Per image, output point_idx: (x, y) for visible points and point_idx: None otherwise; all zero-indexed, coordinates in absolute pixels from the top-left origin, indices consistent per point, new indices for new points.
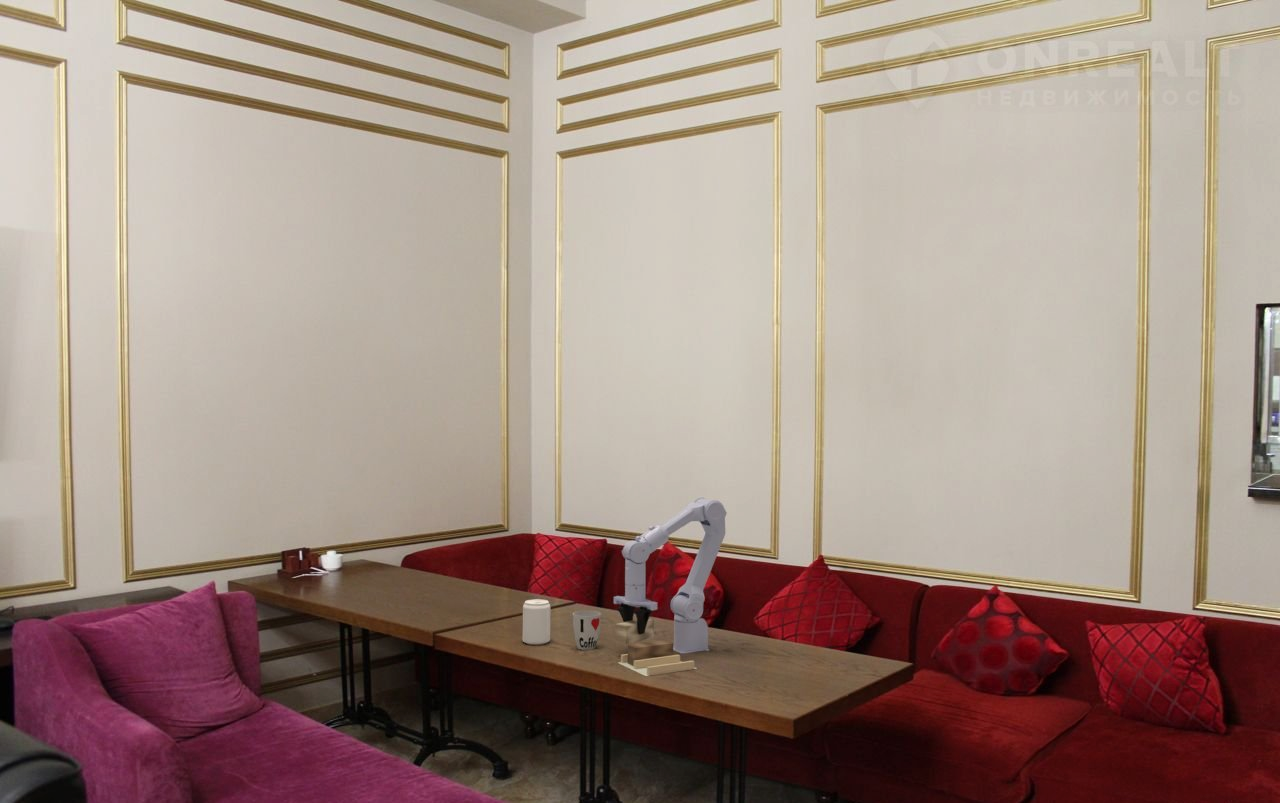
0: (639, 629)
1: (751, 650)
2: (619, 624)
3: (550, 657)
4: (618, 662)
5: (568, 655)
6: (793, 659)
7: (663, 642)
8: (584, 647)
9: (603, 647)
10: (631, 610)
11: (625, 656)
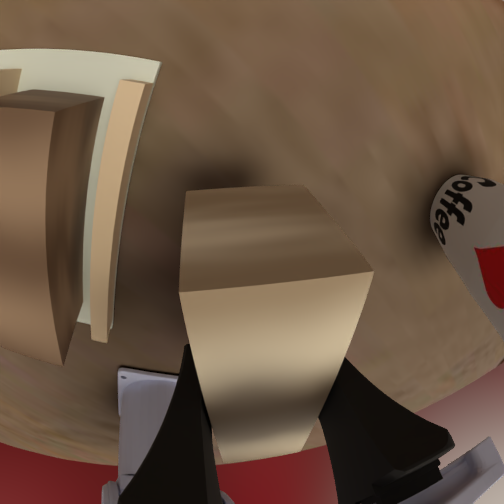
0: (181, 370)
1: (91, 437)
2: (327, 297)
3: (476, 17)
4: (157, 68)
5: (457, 71)
6: (15, 423)
7: (19, 332)
8: (457, 180)
9: (411, 254)
10: (344, 473)
11: (116, 102)
